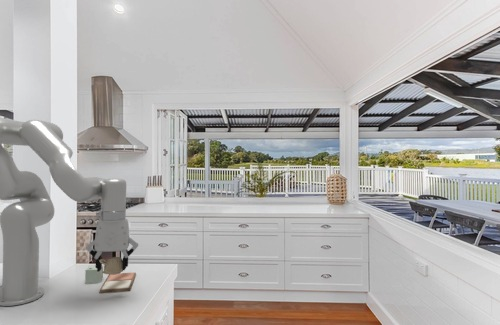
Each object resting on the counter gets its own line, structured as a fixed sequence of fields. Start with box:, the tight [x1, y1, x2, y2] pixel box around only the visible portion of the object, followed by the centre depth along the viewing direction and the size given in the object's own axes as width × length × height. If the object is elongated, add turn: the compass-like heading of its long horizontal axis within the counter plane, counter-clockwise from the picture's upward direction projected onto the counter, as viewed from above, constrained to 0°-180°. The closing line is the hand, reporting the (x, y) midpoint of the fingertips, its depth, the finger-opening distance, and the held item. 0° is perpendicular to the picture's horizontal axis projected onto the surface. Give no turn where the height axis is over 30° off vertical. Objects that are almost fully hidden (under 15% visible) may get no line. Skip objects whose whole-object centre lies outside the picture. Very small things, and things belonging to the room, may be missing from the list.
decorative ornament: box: [99, 256, 124, 275], centre depth 103 cm, size 4×8×5 cm, turn 128°
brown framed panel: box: [98, 272, 137, 294], centre depth 115 cm, size 10×16×1 cm, turn 14°
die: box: [84, 264, 104, 285], centre depth 117 cm, size 5×5×5 cm
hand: (112, 269), depth 102 cm, fingers closed on decorative ornament, 7 cm apart
